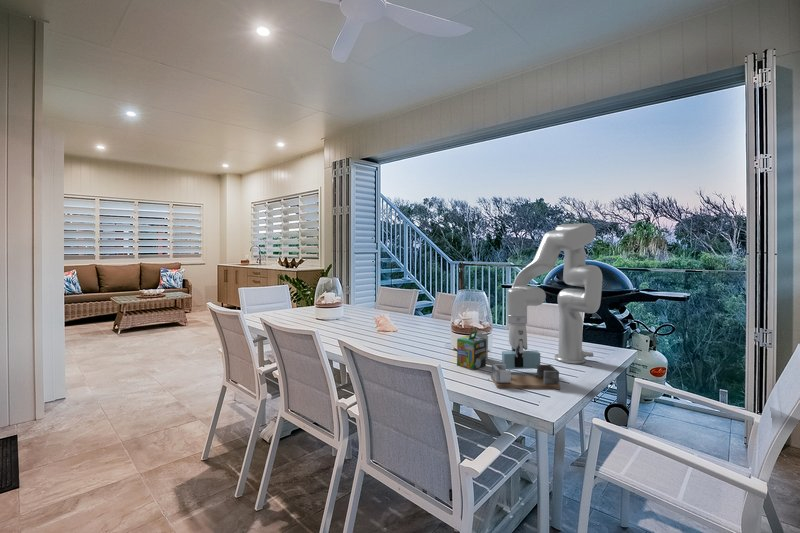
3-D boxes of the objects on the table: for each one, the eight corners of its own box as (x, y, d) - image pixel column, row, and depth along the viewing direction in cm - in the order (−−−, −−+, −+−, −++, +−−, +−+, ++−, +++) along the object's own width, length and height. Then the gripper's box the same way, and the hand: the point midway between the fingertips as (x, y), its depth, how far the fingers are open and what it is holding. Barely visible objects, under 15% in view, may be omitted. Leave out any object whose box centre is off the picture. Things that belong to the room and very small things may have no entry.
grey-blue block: (537, 365, 159) (537, 350, 159) (540, 368, 155) (540, 353, 155) (502, 365, 160) (502, 351, 159) (504, 369, 156) (504, 354, 155)
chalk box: (468, 361, 173) (469, 327, 172) (486, 365, 167) (487, 330, 166) (455, 365, 167) (456, 330, 166) (474, 370, 160) (474, 334, 159)
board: (549, 378, 150) (549, 363, 150) (560, 389, 139) (560, 373, 139) (490, 377, 151) (491, 362, 151) (497, 388, 140) (497, 372, 140)
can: (486, 356, 180) (487, 330, 179) (488, 361, 172) (489, 334, 172) (469, 356, 181) (470, 330, 180) (471, 360, 173) (471, 333, 172)
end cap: (504, 375, 150) (505, 364, 149) (510, 382, 141) (510, 371, 141) (491, 374, 150) (491, 364, 149) (496, 382, 141) (496, 371, 141)
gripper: (533, 324, 148) (533, 372, 149) (520, 315, 165) (520, 358, 166) (513, 324, 148) (513, 372, 149) (502, 315, 165) (502, 358, 166)
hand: (517, 364), depth 158 cm, fingers closed on grey-blue block, 4 cm apart
